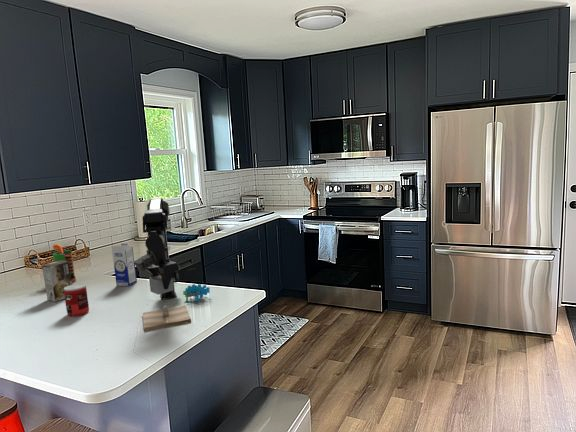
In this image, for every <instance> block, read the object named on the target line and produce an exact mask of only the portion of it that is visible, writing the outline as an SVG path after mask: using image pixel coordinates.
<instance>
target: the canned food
mask: <svg viewBox="0 0 576 432" xmlns="http://www.w3.org/2000/svg"><path fill="white" fill-rule="evenodd" d="M64 296H65V298H64V301H65V303H64V304H65V307H66V309H65V310H66V314H67V316H69V317H79V316H83V315H86V314H87V313H89V311H90V306H89V298H88V291H87V286H86V283H75V284H74V283H73V284H72V285H70V286H67V287H65V288H64Z"/></svg>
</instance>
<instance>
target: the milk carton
mask: <svg viewBox="0 0 576 432" xmlns="http://www.w3.org/2000/svg"><path fill="white" fill-rule="evenodd" d="M120 244H121V245H111V252H112V259H113V260H112V261H113V269H114V276H115V284H116V287H130V286H133V285H134V284H137V282H138V280H137V272H136V265H135V263H134V261H135V253H134V246H133V245H128V243H120Z"/></svg>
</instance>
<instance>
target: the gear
mask: <svg viewBox="0 0 576 432" xmlns="http://www.w3.org/2000/svg"><path fill="white" fill-rule="evenodd" d="M209 293H211V292H210V287H208V286H207V285H206V284H203V285H202V284H201V283H198V284H197V285H196V284H191V286H190V285H188V286H187V287H186V288H185V290H183V291H182V295H183V296H184V297H185V302H186V303H188V301H189V298H190V297H195V302H196V303H197V302H198V303H199V297H203V296H208V294H209Z"/></svg>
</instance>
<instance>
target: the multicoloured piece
mask: <svg viewBox="0 0 576 432" xmlns="http://www.w3.org/2000/svg"><path fill="white" fill-rule="evenodd" d="M52 246H53V248H52V249H53V250H58V251H56V252H53V253H52V260H53V262H56V261H60V260H63V261H69V267H70V273H71V279H72V284H74V283H76V282H77V277H76V276H75V275H76V274H75V267H74V258H73V253H72V250H71V249H70V250H69V249H68V250H67V249H65V250H63V247H62V245H61V244H59V243H56V244H52Z"/></svg>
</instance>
